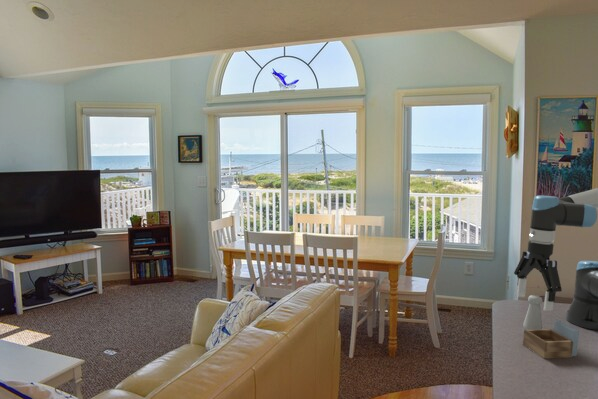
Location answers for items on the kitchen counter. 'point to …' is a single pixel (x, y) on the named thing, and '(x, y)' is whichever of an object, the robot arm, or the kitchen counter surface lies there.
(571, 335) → the pale blue lid slab
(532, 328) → the salt shaker
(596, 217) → the robot arm
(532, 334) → the open wooden crate
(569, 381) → the kitchen counter surface
